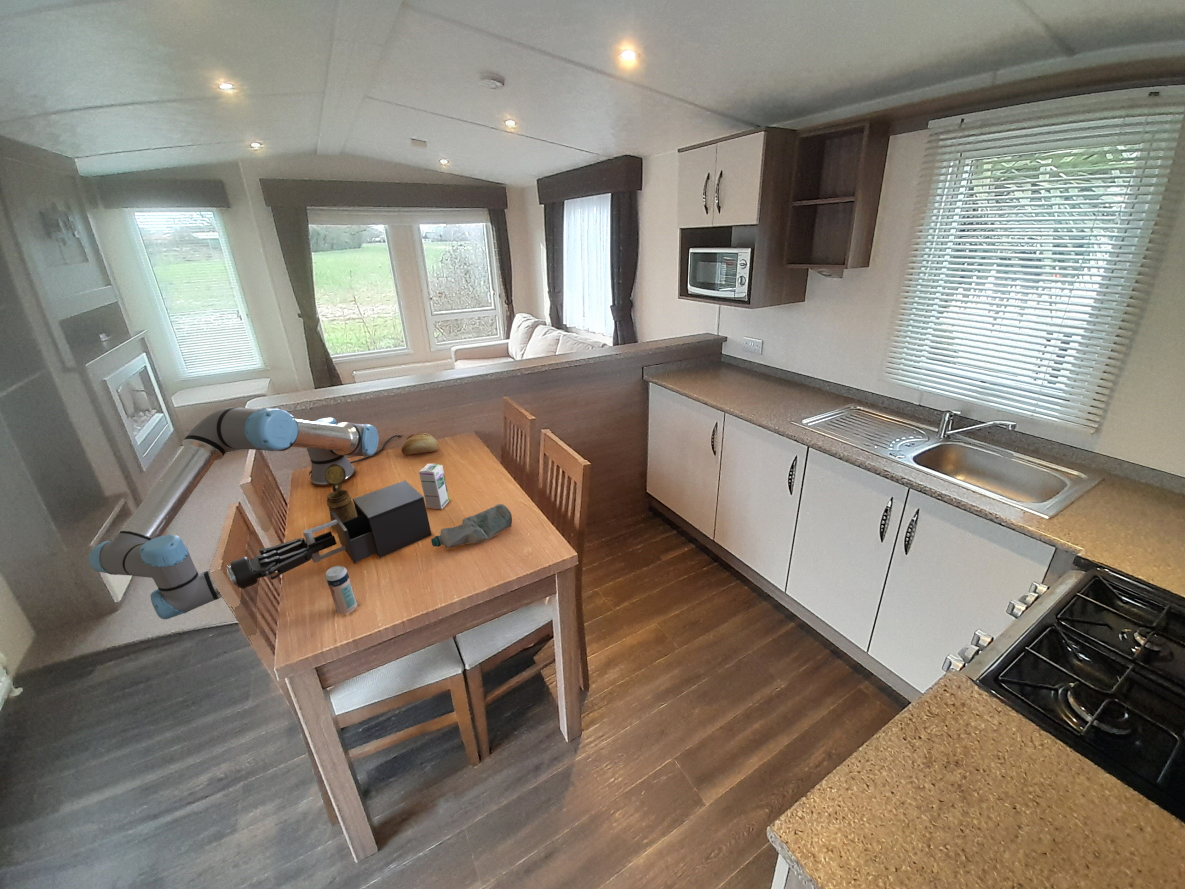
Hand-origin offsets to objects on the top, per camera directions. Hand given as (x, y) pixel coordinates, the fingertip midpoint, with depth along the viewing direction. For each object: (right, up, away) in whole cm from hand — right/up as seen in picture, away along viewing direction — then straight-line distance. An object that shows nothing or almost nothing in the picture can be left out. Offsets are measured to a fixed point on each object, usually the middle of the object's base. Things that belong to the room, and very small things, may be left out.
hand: (333, 537), depth 134 cm
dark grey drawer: (+4, -5, +6) cm, 9 cm away
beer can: (+11, -15, -14) cm, 24 cm away
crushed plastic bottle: (+37, -2, +12) cm, 39 cm away
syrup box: (+20, +5, +30) cm, 36 cm away
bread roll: (0, +23, +68) cm, 72 cm away
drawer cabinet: (+13, -2, +13) cm, 18 cm away
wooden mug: (-8, +1, +23) cm, 24 cm away
